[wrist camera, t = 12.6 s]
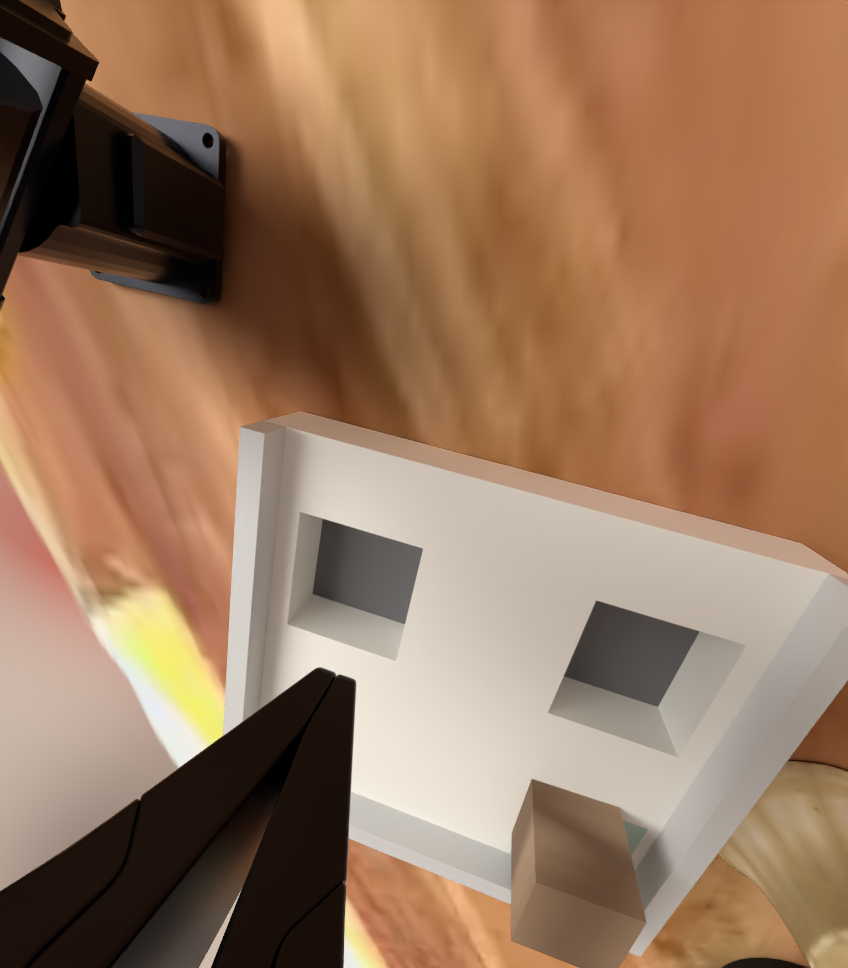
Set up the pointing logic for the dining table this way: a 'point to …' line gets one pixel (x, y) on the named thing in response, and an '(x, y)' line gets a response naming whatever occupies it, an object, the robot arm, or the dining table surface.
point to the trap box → (525, 647)
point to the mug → (760, 964)
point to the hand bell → (801, 856)
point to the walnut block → (573, 879)
